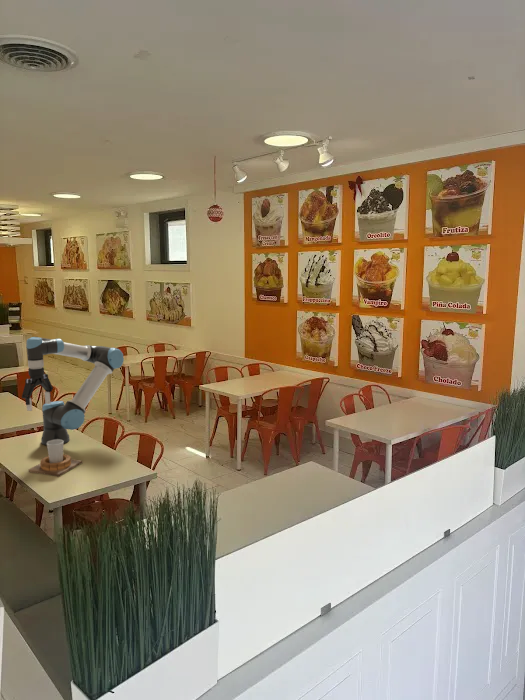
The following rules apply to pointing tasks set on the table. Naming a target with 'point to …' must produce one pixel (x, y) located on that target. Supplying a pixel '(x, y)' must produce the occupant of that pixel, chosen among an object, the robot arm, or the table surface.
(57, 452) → the cup
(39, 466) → the collar board
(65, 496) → the table surface
